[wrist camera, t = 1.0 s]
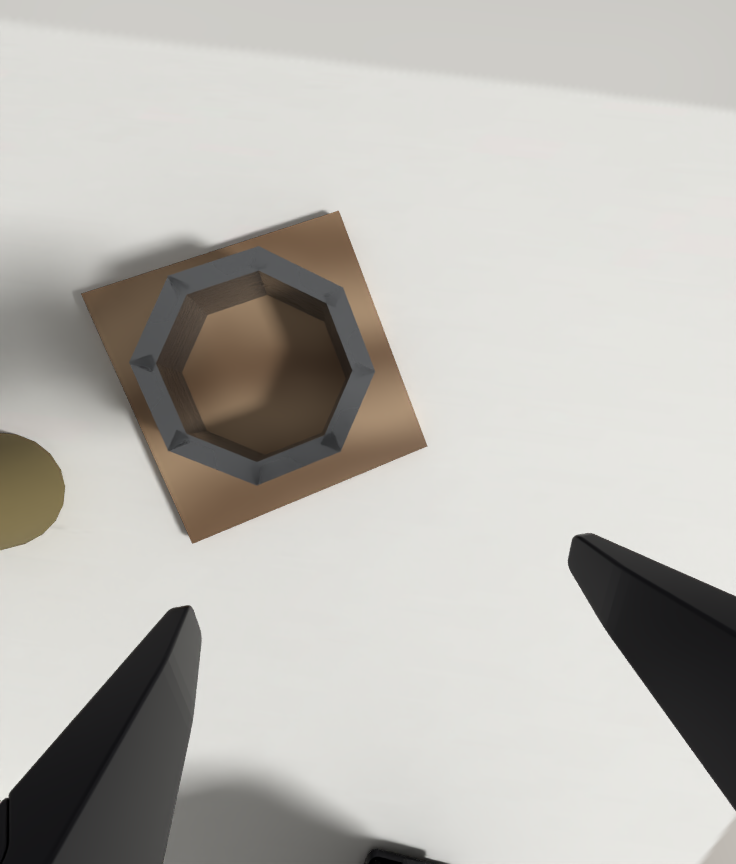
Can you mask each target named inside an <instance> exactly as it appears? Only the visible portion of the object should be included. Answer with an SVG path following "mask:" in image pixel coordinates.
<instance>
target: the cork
mask: <svg viewBox="0 0 736 864" xmlns="http://www.w3.org/2000/svg"><path fill="white" fill-rule="evenodd" d="M64 492H65V485H64V481H63V477H62V473H61V469H60V468H59V466H58V465H57V463H56V462H55V460H54V459H53V457H52V456H51V454H50V453H48V452H47V451H46V450H45V449H43V448H42V447H41V446H40V445H38V444H37V443H36V442H34V441H31V440H29V439H26V438H24V437H21V436H19V435H16V434H6V433H0V550H3V549H7V548H11V547H14V546H18V545H22V544H26V543H27V542H29V541H31V540H33V539H35V538H37V537H38V536H40V535H42V534H43V533H44V532H45V531H46V530H47V529H48V528H49V527H50V526H51V525H52V524H53V523H54V522H55V521H56V519H57V517H58V514H59V512H60V510H61V508H62V506H63V502H64Z"/></svg>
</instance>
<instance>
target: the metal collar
mask: <svg viewBox="0 0 736 864" xmlns="http://www.w3.org/2000/svg"><path fill="white" fill-rule="evenodd" d="M265 295H269V296H271V297H273V298H275V299H277V300H279V301H281V302H283V303H286V304H288V305H290V306H292V307H294V308H296V309H298V310H300V311H302V312H305V313H307V314H309V315H311V316H313V317H315V318H317V319H319V320H321V321H324V323H325V326H326V328H327V331H328V334H329V336H330V339H331V341H332V344H333V346H334V349H335V352H336V354H337V357H338V359H339V362H340V364H341V367H342V369H343V372H344V375H345V377H346V379H345V381H344V383H343V386H342V388H341V390H340V393H339V395H338V397H337V400H336V402H335V404H334V406H333V409H332V411H331V413H330V416H329V418H328V420H327V423H326V425H325V427H324V430H323V432H322V433H319V434H317V435H314V436H312V437H309V438H307V439H304V440H302V441H299V442H297V443H294V444H292V445H289V446H287V447H284V448H282V449H279V450H276V451H274V452H271V453H269V454H266V455H265V454H263V453H260V452H258V451H255V450H253V449H250V448H248V447H245V446H243V445H240V444H238V443H236V442H233V441H231V440H228V439H226V438H223V437H221V436H218V435H216V434H213V433H211V432H209V431H207V430H206V427H205V425H204V423H203V420H202V418H201V416H200V413H199V411H198V409H197V406H196V404H195V402H194V399H193V397H192V395H191V392H190V390H189V388H188V385H187V383H186V381H185V378H184V376H183V374H182V371H183V369H184V367H185V365H186V362H187V360H188V358H189V356H190V353H191V351H192V349H193V347H194V344H195V342H196V340H197V338H198V335H199V333H200V331H201V329H202V326H203V324H204V322H205V320H206V317H207V315H210V314H213V313H216V312H218V311H221V310H224V309H227V308H230V307H233V306H236V305H239V304H242V303H245V302H248V301H250V300H253V299H256V298H259V297H262V296H265ZM129 363H130V366H131V368H132V370H133V372H134V375H135V377H136V379H137V382H138V384H139V386H140V388H141V391H142V393H143V395H144V397H145V400H146V402H147V404H148V406H149V409H150V411H151V413H152V416H153V418H154V420H155V422H156V425H157V427H158V429H159V431H160V434H161V436H162V438H163V440H164V443H165V445H166V447H167V450H168V451H170V452H173V453H175V454H178V455H180V456H183V457H185V458H188V459H190V460H193V461H196V462H198V463H201V464H203V465H206V466H208V467H211V468H213V469H216V470H218V471H221V472H223V473H226V474H229V475H231V476H234V477H236V478H239V479H241V480H244V481H246V482H249V483H251V484H254V485H256V486H258V485H259V484H262V483H264V482H267V481H269V480H272V479H274V478H277V477H279V476H282V475H284V474H287V473H289V472H292V471H294V470H296V469H299V468H301V467H304V466H306V465H309V464H311V463H314V462H316V461H319V460H321V459H324V458H326V457H329V456H331V455H333V454H336V453H338V452H341V450H342V447H343V445H344V443H345V440H346V438H347V436H348V433H349V431H350V429H351V426H352V424H353V422H354V419H355V417H356V415H357V412H358V410H359V408H360V406H361V403H362V401H363V399H364V396H365V394H366V392H367V389H368V387H369V385H370V382H371V380H372V378H373V375H374V373H375V370H374V367H373V364H372V362H371V359H370V356H369V354H368V351H367V349H366V346H365V343H364V341H363V338H362V336H361V333H360V330H359V328H358V325H357V322H356V320H355V317H354V315H353V312H352V309H351V307H350V304H349V301H348V299H347V296H346V294H345V291H344V288H343V287H341V286H339V285H337V284H335V283H333V282H331V281H329V280H327V279H325V278H323V277H321V276H319V275H317V274H315V273H313V272H310V271H308V270H306V269H304V268H302V267H300V266H298V265H296V264H294V263H292V262H290V261H288V260H286V259H284V258H282V257H280V256H278V255H276V254H274V253H272V252H270V251H268V250H266V249H264V248H262V247H260V246H257V247H254V248H251V249H248V250H245V251H242V252H239V253H236V254H233V255H230V256H227V257H224V258H221V259H218V260H214V261H211V262H208V263H205V264H202V265H199V266H196V267H193V268H190V269H187V270H184V271H181V272H178V273H175V274H172V275H168V277H167V279H166V281H165V283H164V286H163V288H162V290H161V292H160V295H159V297H158V299H157V301H156V304H155V306H154V308H153V310H152V312H151V315H150V317H149V319H148V321H147V324H146V326H145V328H144V330H143V332H142V335H141V337H140V339H139V341H138V344H137V346H136V348H135V350H134V353H133V355H132V357H131V359H130V361H129Z"/></svg>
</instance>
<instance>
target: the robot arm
mask: <svg viewBox="0 0 736 864" xmlns="http://www.w3.org/2000/svg"><path fill="white" fill-rule="evenodd" d="M568 566H569V569H570V571H571V573H572V575H573V576H574V578H575V580H576V581H577V583H578V585H579V587H580V588H581V590H582V592H583V593H584V595H585V597H586V598H587V600H588V602H589V603H590V605H591V607H592V609H593V610H594V612H595V614H596V615H597V617H598V619H599V620H600V622H601V623H602V625H603V627H604V628H605V630H606V631H607V633H608V634H609V636H610V637H611V638H612V640H613V641H614V643H615V644H616V645H617V647H618V648H619V650H620V651H621V652H622V654H623V655H624V657H625V658H626V659H627V661H628V662H629V663H630V665H631V666H632V668H633V669H634V670H635V672H636V673H637V675H638V676H639V677H640V679H641V680H642V682H643V683H644V684H645V686H646V687H647V688H648V690H649V691H650V693H651V694H652V695H653V697H654V698H655V700H656V701H657V702H658V704H659V705H660V707H661V708H662V709H663V711H664V712H665V713H666V715H667V716H668V718H669V719H670V720H671V722H672V723H673V725H674V726H675V727H676V729H677V730H678V732H679V733H680V734H681V736H682V737H683V739H684V740H685V741H686V743H687V744H688V745H689V747H690V748H691V750H692V751H693V752H694V754H695V755H696V757H697V758H698V759H699V761H700V762H701V764H702V765H703V766H704V768H705V769H706V770H707V772H708V773H709V775H710V776H711V777H712V779H713V780H714V782H715V783H716V784H717V786H718V787H719V789H720V790H721V791H722V793H723V794H724V795H725V797H726V798H727V800H728V801H729V802H730V804H731V805H732V807H733V808H734V809H735V811H736V596H734V595H732V594H729V593H727V592H725V591H722V590H720V589H718V588H716V587H713V586H711V585H709V584H707V583H704V582H702V581H700V580H697V579H695V578H693V577H691V576H688V575H686V574H684V573H681V572H679V571H677V570H675V569H672V568H670V567H668V566H666V565H663V564H661V563H659V562H656V561H654V560H652V559H650V558H647V557H645V556H643V555H641V554H638V553H636V552H634V551H631V550H629V549H627V548H625V547H622V546H620V545H618V544H615V543H613V542H611V541H609V540H606V539H604V538H602V537H600V536H597V535H595V534H592V533H585V534H580V535H576V536H574V537H573V539H572V542H571V547H570V552H569V557H568ZM201 639H202V638H201V631H200V627H199V625H198V622H197V619H196V616H195V613H194V610H193V608H192V607H191V606H189V605H186V606H181V607H175V608H172V609H170V610H169V611H168V612H167V613H166V614H165V615H164V616H163V617H162V618H161V619H160V621H159V622H158V623H157V624H156V625H155V626H154V627H153V629H152V630H151V631H150V632H149V633H148V634H147V636H146V637H145V638H144V639H143V640H142V641H141V642H140V644H139V645H138V646H137V647H136V648H135V649H134V650H133V652H132V653H131V654H130V655H129V656H128V657H127V658H126V660H125V661H124V662H123V663H122V664H121V665H120V666H119V668H118V669H117V670H116V671H115V672H114V673H113V675H112V676H111V677H110V678H109V679H108V680H107V681H106V683H105V684H104V685H103V686H102V687H101V688H100V689H99V691H98V692H97V693H96V694H95V695H94V696H93V697H92V699H91V700H90V701H89V702H88V703H87V704H86V706H85V707H84V708H83V709H82V710H81V711H80V712H79V714H78V715H77V716H76V717H75V718H74V719H73V720H72V722H71V723H70V724H69V725H68V726H67V727H66V728H65V730H64V731H63V732H62V733H61V734H60V735H59V736H58V738H57V739H56V740H55V741H54V742H53V743H52V745H51V746H50V747H49V748H48V749H47V750H46V751H45V753H44V754H43V755H42V756H41V757H40V758H39V759H38V761H37V762H36V763H35V764H34V765H33V766H32V767H31V769H30V770H29V771H28V772H27V773H26V774H25V775H24V777H23V778H22V779H21V780H20V781H19V782H18V784H17V785H16V786H15V787H14V788H13V789H12V790H11V792H10V793H9V798H5V799H4V800H2V802H1V803H0V864H163V860H164V856H165V851H166V846H167V842H168V837H169V832H170V827H171V823H172V818H173V813H174V808H175V804H176V799H177V794H178V790H179V785H180V780H181V775H182V771H183V766H184V761H185V757H186V752H187V747H188V742H189V738H190V733H191V727H192V722H193V715H194V707H195V698H196V689H197V679H198V670H199V661H200V651H201ZM364 864H433V863H429V862H425V861H422V860H418V859H414V858H410V857H406V856H402V855H398V854H394V853H391V852H387V851H383V850H379V849H374V850H372V851H371V852H369V854H368V856H367V858H366V861H365V863H364Z"/></svg>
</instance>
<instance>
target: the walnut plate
mask: <svg viewBox="0 0 736 864" xmlns="http://www.w3.org/2000/svg"><path fill="white" fill-rule="evenodd" d="M257 246H260V247H262V248H264V249H266V250H268V251H270V252H272V253H274V254H276V255H278V256H280V257H282V258H284V259H286V260H288V261H290V262H292V263H294V264H296V265H298V266H300V267H302V268H304V269H306V270H308V271H310V272H313V273H315V274H317V275H319V276H321V277H323V278H325V279H327V280H329V281H331V282H333V283H335V284H337V285H339V286H341V287H343V288H344V291H345V294H346V296H347V299H348V301H349V304H350V307H351V309H352V312H353V315H354V317H355V320H356V322H357V325H358V328H359V330H360V333H361V336H362V338H363V341H364V343H365V346H366V349H367V351H368V354H369V356H370V359H371V362H372V364H373V367H374V370H375V373H374V375H373V378H372V380H371V382H370V385H369V387H368V389H367V392H366V394H365V396H364V399H363V401H362V403H361V406H360V408H359V410H358V412H357V415H356V417H355V419H354V422H353V424H352V426H351V429H350V431H349V433H348V436H347V438H346V440H345V443H344V445H343V447H342V450H341V452H338V453H336V454H333V455H331V456H329V457H326V458H324V459H321V460H319V461H316V462H314V463H311V464H309V465H306V466H304V467H301V468H299V469H296V470H294V471H292V472H289V473H287V474H284V475H282V476H279V477H277V478H274V479H272V480H269V481H267V482H264V483H262V484H259V485H258V486H256V485H254V484H251V483H249V482H246V481H244V480H241V479H239V478H236V477H234V476H231V475H229V474H226V473H223V472H221V471H218V470H216V469H213V468H211V467H208V466H206V465H203V464H201V463H198V462H196V461H193V460H190V459H188V458H185V457H183V456H180V455H178V454H175V453H173V452H170V451H168V450H167V447H166V445H165V443H164V440H163V438H162V436H161V434H160V431H159V429H158V427H157V425H156V422H155V420H154V418H153V416H152V413H151V411H150V409H149V406H148V404H147V402H146V400H145V397H144V395H143V393H142V391H141V388H140V386H139V384H138V382H137V379H136V377H135V375H134V372H133V370H132V368H131V366H130V363H129V361H130V359H131V357H132V355H133V353H134V350H135V348H136V346H137V344H138V341H139V339H140V337H141V335H142V332H143V330H144V328H145V326H146V324H147V321H148V319H149V317H150V315H151V312H152V310H153V308H154V306H155V304H156V301H157V299H158V297H159V295H160V292H161V290H162V288H163V286H164V283H165V281H166V279H167V277H168V275H172V274H175V273H178V272H181V271H184V270H187V269H190V268H193V267H196V266H199V265H202V264H205V263H208V262H211V261H214V260H218V259H221V258H224V257H227V256H230V255H233V254H236V253H239V252H242V251H245V250H248V249H251V248H254V247H257ZM81 295H82V297H83V299H84V301H85V304H86V306H87V308H88V310H89V313H90V315H91V317H92V319H93V322H94V324H95V326H96V328H97V331H98V333H99V335H100V337H101V340H102V342H103V344H104V346H105V349H106V351H107V353H108V355H109V358H110V360H111V362H112V364H113V367H114V369H115V371H116V373H117V376H118V378H119V380H120V382H121V385H122V387H123V389H124V391H125V394H126V396H127V398H128V400H129V403H130V405H131V407H132V409H133V412H134V414H135V416H136V418H137V420H138V423H139V425H140V427H141V429H142V432H143V434H144V436H145V438H146V441H147V443H148V445H149V447H150V450H151V452H152V454H153V456H154V459H155V461H156V463H157V465H158V468H159V470H160V472H161V474H162V477H163V479H164V481H165V483H166V486H167V488H168V490H169V492H170V495H171V497H172V499H173V501H174V504H175V506H176V508H177V510H178V513H179V515H180V517H181V519H182V522H183V524H184V526H185V528H186V531H187V533H188V535H189V537H190V539H191V542H192V544H193V543H196V542H198V541H200V540H203V539H205V538H208V537H210V536H212V535H215V534H217V533H220V532H222V531H224V530H227V529H229V528H232V527H234V526H236V525H239V524H241V523H244V522H246V521H249V520H251V519H253V518H256V517H258V516H261V515H263V514H265V513H268V512H270V511H273V510H275V509H277V508H280V507H282V506H285V505H287V504H289V503H292V502H294V501H297V500H299V499H301V498H304V497H306V496H309V495H311V494H313V493H316V492H318V491H321V490H323V489H326V488H328V487H330V486H333V485H335V484H338V483H340V482H342V481H345V480H347V479H350V478H352V477H354V476H357V475H359V474H362V473H364V472H366V471H369V470H371V469H374V468H376V467H378V466H381V465H383V464H386V463H388V462H390V461H393V460H395V459H398V458H400V457H403V456H405V455H407V454H410V453H412V452H415V451H417V450H419V449H422V448H424V447H427V444H426V441H425V439H424V436H423V433H422V431H421V428H420V425H419V423H418V420H417V417H416V415H415V412H414V409H413V407H412V404H411V401H410V399H409V396H408V393H407V391H406V388H405V386H404V383H403V380H402V378H401V375H400V372H399V370H398V367H397V364H396V362H395V359H394V356H393V354H392V351H391V348H390V346H389V343H388V340H387V338H386V335H385V332H384V330H383V327H382V324H381V322H380V319H379V316H378V314H377V311H376V308H375V306H374V303H373V300H372V298H371V295H370V292H369V290H368V287H367V284H366V282H365V279H364V276H363V274H362V271H361V268H360V266H359V263H358V261H357V258H356V255H355V253H354V250H353V247H352V245H351V242H350V239H349V237H348V234H347V231H346V229H345V226H344V223H343V221H342V218H341V215H340V213H339V211H336V212H333V213H330V214H327V215H324V216H321V217H317V218H314V219H311V220H308V221H305V222H302V223H299V224H296V225H293V226H290V227H287V228H283V229H280V230H277V231H274V232H271V233H268V234H265V235H262V236H259V237H256V238H252V239H249V240H246V241H243V242H240V243H237V244H234V245H231V246H228V247H225V248H221V249H218V250H215V251H212V252H209V253H206V254H203V255H200V256H197V257H194V258H190V259H187V260H184V261H181V262H178V263H175V264H172V265H169V266H166V267H163V268H159V269H156V270H153V271H150V272H147V273H144V274H141V275H138V276H135V277H132V278H129V279H125V280H122V281H119V282H116V283H113V284H110V285H107V286H104V287H101V288H98V289H94V290H91V291H88V292H85V293H82V294H81ZM182 374H183V376H184V378H185V381H186V383H187V385H188V388H189V390H190V392H191V395H192V397H193V399H194V402H195V404H196V406H197V409H198V411H199V413H200V416H201V418H202V420H203V423H204V425H205V427H206V430H207V431H209V432H211V433H213V434H216V435H218V436H221V437H223V438H226V439H228V440H231V441H233V442H236V443H238V444H240V445H243V446H245V447H248V448H250V449H253V450H255V451H258V452H260V453H263V454H265V455H266V454H269V453H271V452H274V451H276V450H279V449H282V448H284V447H287V446H289V445H292V444H294V443H297V442H299V441H302V440H304V439H307V438H309V437H312V436H314V435H317V434H319V433H322V432H323V430H324V427H325V425H326V423H327V420H328V418H329V416H330V413H331V411H332V409H333V406H334V404H335V402H336V400H337V397H338V395H339V393H340V390H341V388H342V386H343V383H344V381H345V379H346V377H345V375H344V372H343V369H342V367H341V364H340V362H339V359H338V357H337V354H336V352H335V349H334V346H333V344H332V341H331V339H330V336H329V334H328V331H327V328H326V326H325V323H324V321H321V320H319V319H317V318H315V317H313V316H311V315H309V314H307V313H305V312H302V311H300V310H298V309H296V308H294V307H292V306H290V305H288V304H286V303H283V302H281V301H279V300H277V299H275V298H273V297H271V296H269V295H265V296H262V297H259V298H256V299H253V300H250V301H248V302H245V303H242V304H239V305H236V306H233V307H230V308H227V309H224V310H221V311H218V312H216V313H213V314H210V315H207V317H206V320H205V322H204V324H203V326H202V329H201V331H200V333H199V335H198V338H197V340H196V342H195V344H194V347H193V349H192V351H191V353H190V356H189V358H188V360H187V362H186V365H185V367H184V369H183V371H182Z"/></svg>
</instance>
